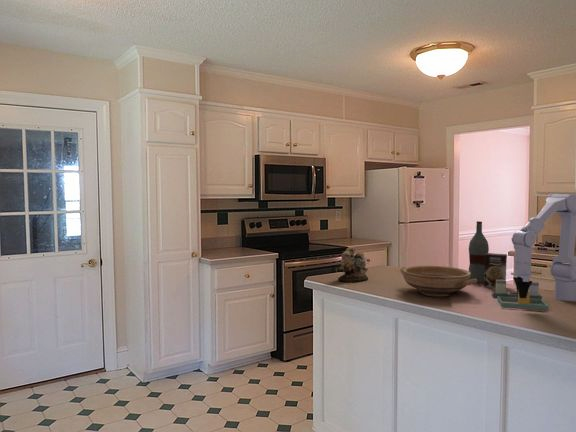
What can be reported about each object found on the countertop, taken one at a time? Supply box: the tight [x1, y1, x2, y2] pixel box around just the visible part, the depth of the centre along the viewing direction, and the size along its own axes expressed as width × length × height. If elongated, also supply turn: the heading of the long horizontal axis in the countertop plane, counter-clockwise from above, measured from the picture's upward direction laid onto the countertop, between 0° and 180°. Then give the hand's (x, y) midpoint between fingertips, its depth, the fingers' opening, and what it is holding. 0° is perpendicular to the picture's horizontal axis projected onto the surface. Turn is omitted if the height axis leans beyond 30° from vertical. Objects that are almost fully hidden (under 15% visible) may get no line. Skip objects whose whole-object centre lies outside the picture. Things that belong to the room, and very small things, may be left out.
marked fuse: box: [517, 288, 530, 304], centre depth 179 cm, size 4×2×7 cm, turn 73°
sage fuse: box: [495, 279, 507, 294], centre depth 192 cm, size 4×2×7 cm, turn 73°
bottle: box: [468, 220, 490, 285], centre depth 227 cm, size 9×9×30 cm
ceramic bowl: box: [399, 265, 477, 297], centre depth 203 cm, size 37×29×10 cm
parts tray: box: [496, 296, 549, 313], centre depth 179 cm, size 16×11×2 cm
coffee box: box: [483, 252, 508, 289], centre depth 212 cm, size 9×6×16 cm
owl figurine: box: [337, 246, 369, 284], centre depth 233 cm, size 18×12×17 cm, turn 126°
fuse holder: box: [491, 290, 543, 300], centre depth 190 cm, size 18×7×3 cm, turn 73°
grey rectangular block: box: [529, 280, 540, 296], centre depth 188 cm, size 4×2×7 cm, turn 73°
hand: (521, 296), depth 179 cm, fingers open, 3 cm apart
